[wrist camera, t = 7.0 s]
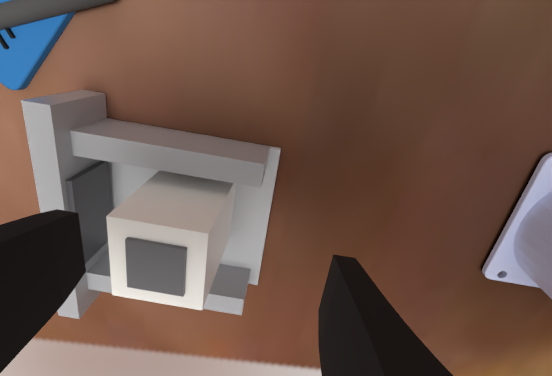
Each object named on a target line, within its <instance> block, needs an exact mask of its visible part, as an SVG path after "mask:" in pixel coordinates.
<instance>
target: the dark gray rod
mask: <svg viewBox="0 0 552 376" xmlns="http://www.w3.org/2000/svg"><path fill="white" fill-rule="evenodd" d="M113 1H115V0H10V1H7V2H3V3H0V30H4V28H12V27H16V26H20V25H24V24H28V23H32V22H36V21H40V20H44V19H48V18H52V17H55V16H59V15H63V14H68V13H72V12H76V11H79V10H83V9H87V8H91V7H95V6H99V5H103V4H107V3H111V2H113Z"/></svg>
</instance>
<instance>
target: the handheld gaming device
mask: <svg viewBox="0 0 552 376" xmlns="http://www.w3.org/2000/svg"><path fill="white" fill-rule="evenodd" d="M7 1H10V0H0V3H3V2H7ZM74 14H75V12H72V13H68V14H63V15H59V16H55V17H52V18H48V19H44V20H40V21H36V22H32V23H28V24H24V25H20V26H16V27H12V28H4V30H0V82H1V83H2V84H3V85H4V86H6V87H7V88H9V89H11V90H20V89H24V88H26V87H27V86H28V84H29V83H30V81H31V80H32V78H33V77H34V75H35V74H36V72H37V70H38V69H39V67H40V66H41V64H42V63H43V61H44V60H45V58H46V57H47V55H48V54H49V52H50V51H51V49H52V47H53V46H54V44H55V43H56V41H57V40H58V38H59V37H60V35H61V34H62V32H63V31H64V29H65V27H66V26H67V24H68V23H69V21H70V20H71V18H72V17H73V15H74Z"/></svg>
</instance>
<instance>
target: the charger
mask: <svg viewBox="0 0 552 376" xmlns="http://www.w3.org/2000/svg"><path fill="white" fill-rule="evenodd" d="M235 188H236V184H235V183H230V182H224V181H218V180H212V179H206V178H201V177H195V176H189V175H183V174H178V173H172V172H166V171H160V170H159V171H158V172H157V173H156V174H155V175H154V176H152V177H151V178H150V179H149V180H148V181H147V182H145V183H144V184H143V185H142V186H141V187H140V188H138V189H137V190H136V191H135V192H134V193H133V194H131V195H130V196H129V197H128V198H127V199H126V200H124V201H123V202H122V203H121V204H120V205H119V206H117V207H116V208H115V209H114V210H113V211H112V212H110V213H109V214H108V215H107V216H106V220H107V233H108V247H109V260H110V274H111V287H112V295H115V296H121V297H127V298H133V299H138V300H144V301H150V302H156V303H162V304H167V305H173V306H179V307H185V308H191V309H196V310H203V307H204V304H205V302H206V299H207V296H208V294H209V291H210V288H211V286H212V283H213V280H214V278H215V275H216V272H217V269H218V267H219V264H220V261H221V259H222V256H223V253H224V251H225V248H226V245H227V243H228V240H229V237H230V231H231V222H232V214H233V205H234V197H235Z"/></svg>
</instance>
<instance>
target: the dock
mask: <svg viewBox="0 0 552 376" xmlns="http://www.w3.org/2000/svg"><path fill="white" fill-rule="evenodd" d="M21 103H22V109H23V114H24V120H25V126H26V132H27V137H28V143H29V149H30V155H31V160H32V166H33V172H34V178H35V184H36V189H37V195H38V201H39V207H40V212H41V213H43V212H47V211H52V210H56V209H58V210H64V211H70V212H76V213H78V214H79V222H80V229H81V237H82V244H83V252H84V260H85V267H86V272H85V274H84V275H83V277H82V278H81V280H80V281H79V283H78V284H77V286H76V287H75V288H74V290H73V291H72V293H71V294H70V295H69V297H68V298H67V299H66V301H65V302H64V303H63V305H62V306H61V307H60V308H59V309H58V315H59V316H65V317H71V318H77V319H80V318H81V316H82V315H83V314H84V313H85V311H86V310H87V309H88V308H89V307H90V305H91V304H92V303H93V302H94V300H95V299H96V298H97V297H98V296H99V294H100V293H101V292H102V291H103V292H109V293H112V287H111V274H110V260H109V247H108V233H107V220H106V216H107V215H108V214H109V213H110V212H112V211H113V210H114V209H115V208H116V207H117V206H119V205H120V204H121V203H122V202H123V201H124V200H126V199H127V198H128V197H129V196H130V195H131V194H133V193H134V192H135V191H136V190H137V189H138V188H140V187H141V186H142V185H143V184H144V183H145V182H147V181H148V180H149V179H150V178H151V177H152V176H154V175H155V174H156V173H157V172H158V171H159V170H160V171H166V172H172V173H178V174H183V175H189V176H195V177H201V178H206V179H212V180H218V181H224V182H230V183H235V184H236V188H235V197H234V205H233V214H232V222H231V231H230V237H229V240H228V243H227V245H226V248H225V251H224V253H223V256H222V259H221V261H220V264H219V267H218V269H217V272H216V275H215V278H214V280H213V283H212V286H211V288H210V291H209V294H208V296H207V299H206V302H205V304H204V307H203V309H208V310H214V311H219V312H225V313H231V314H237V315H242V311H243V306H244V302H245V297H246V292H247V288H248V284H254V285H257V284H258V279H259V273H260V267H261V261H262V255H263V249H264V244H265V238H266V232H267V226H268V220H269V214H270V209H271V203H272V197H273V191H274V185H275V180H276V174H277V168H278V162H279V156H280V150H281V148H278V147H273V146H267V145H261V144H255V143H250V142H244V141H238V140H232V139H227V138H221V137H215V136H209V135H203V134H198V133H192V132H186V131H180V130H175V129H169V128H163V127H157V126H152V125H146V124H140V123H134V122H128V121H123V120H117V119H111V118H107V110H106V94H105V93H101V92H95V91H89V90H83V89H82V90H77V91H71V92H65V93H60V94H54V95H48V96H43V97H37V98H31V99H25V100H21Z"/></svg>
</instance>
